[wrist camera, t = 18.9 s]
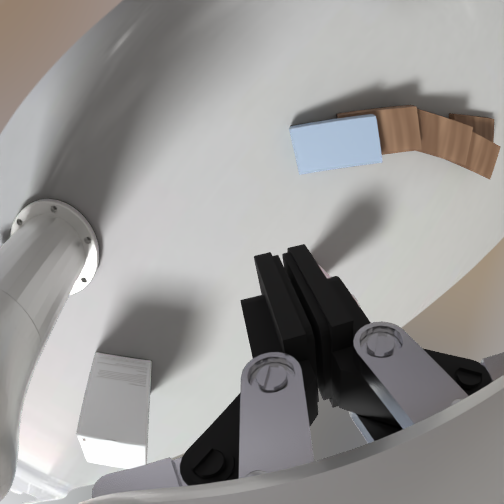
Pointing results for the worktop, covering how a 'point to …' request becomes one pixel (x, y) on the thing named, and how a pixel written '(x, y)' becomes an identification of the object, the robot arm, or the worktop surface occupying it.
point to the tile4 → (481, 156)
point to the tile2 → (394, 127)
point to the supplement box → (116, 412)
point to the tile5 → (477, 124)
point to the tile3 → (444, 137)
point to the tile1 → (336, 143)
